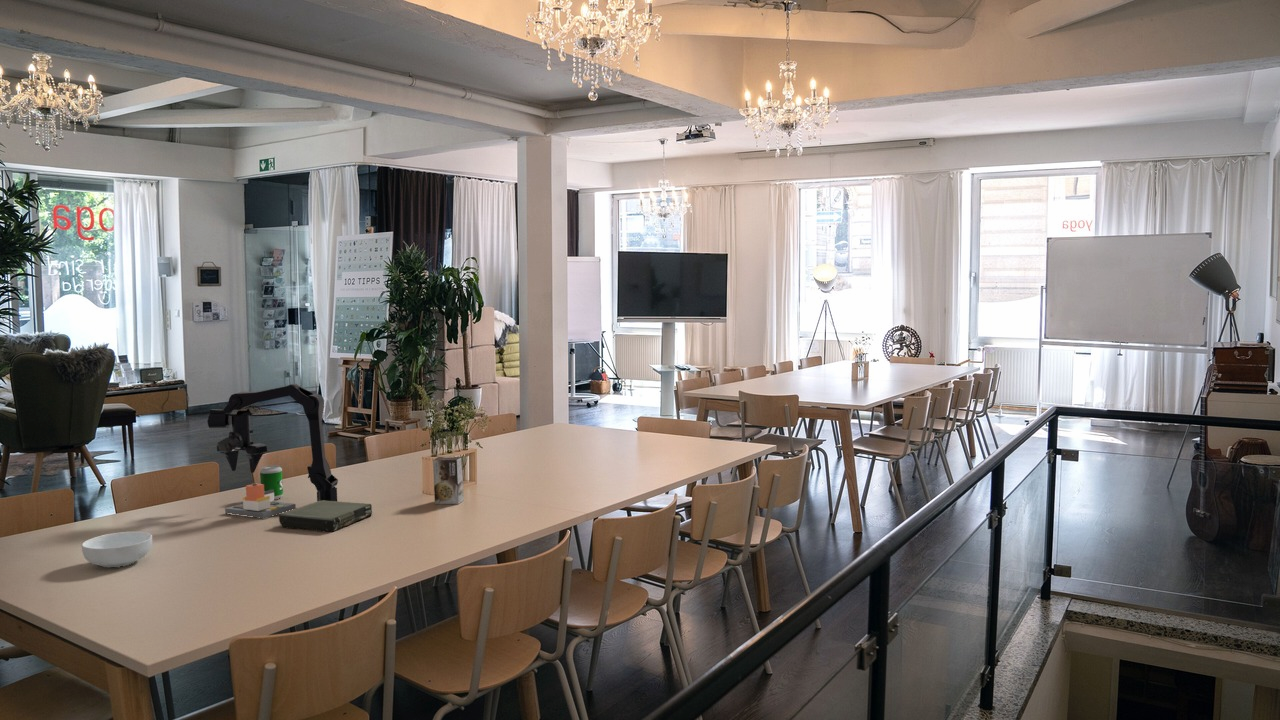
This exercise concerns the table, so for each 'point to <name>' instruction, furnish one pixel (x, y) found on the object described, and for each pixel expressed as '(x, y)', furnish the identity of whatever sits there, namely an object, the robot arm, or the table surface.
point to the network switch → (325, 515)
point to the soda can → (272, 480)
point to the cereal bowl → (117, 548)
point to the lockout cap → (254, 491)
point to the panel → (273, 510)
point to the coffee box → (448, 480)
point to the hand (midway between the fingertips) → (243, 471)
